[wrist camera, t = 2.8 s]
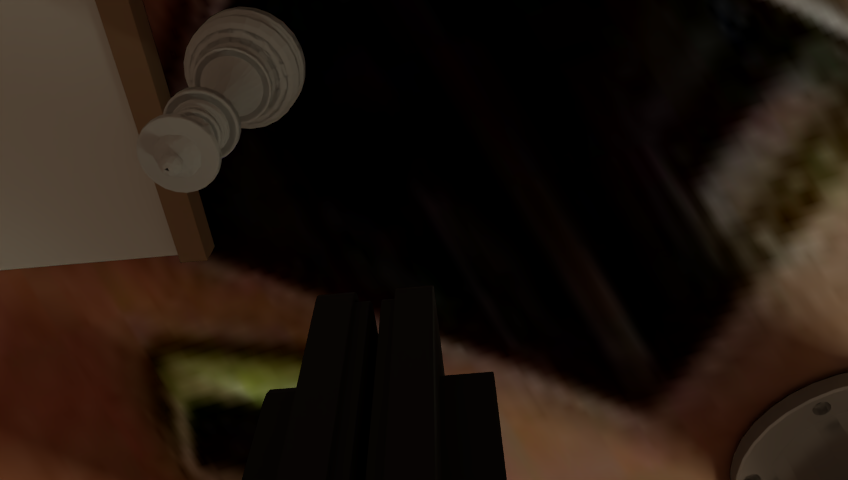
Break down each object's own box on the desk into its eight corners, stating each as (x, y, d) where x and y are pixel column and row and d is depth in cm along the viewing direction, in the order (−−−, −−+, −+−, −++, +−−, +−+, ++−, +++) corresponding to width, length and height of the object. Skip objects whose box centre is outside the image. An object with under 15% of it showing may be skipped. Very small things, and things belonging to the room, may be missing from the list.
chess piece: (323, 98, 29) (274, 216, 20) (224, 129, 29) (135, 256, 21) (279, -10, 27) (204, 68, 18) (173, 26, 27) (52, 118, 19)
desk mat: (95, -159, 24) (80, -158, 23) (214, 246, 32) (207, 260, 31) (-241, -116, 25) (-270, -114, 24) (-44, 268, 33) (-59, 283, 32)
